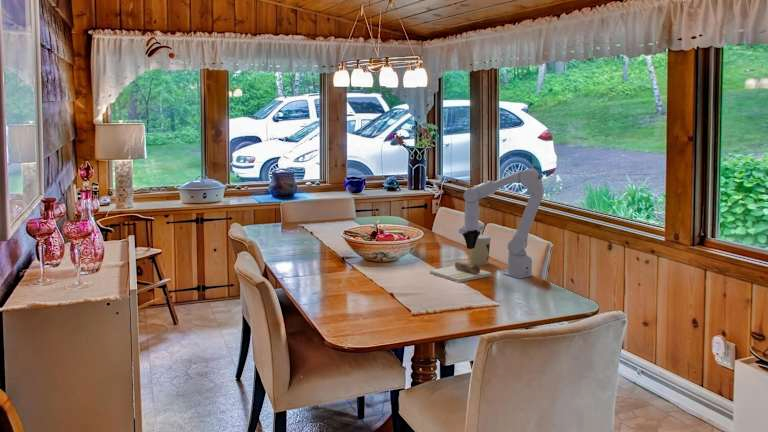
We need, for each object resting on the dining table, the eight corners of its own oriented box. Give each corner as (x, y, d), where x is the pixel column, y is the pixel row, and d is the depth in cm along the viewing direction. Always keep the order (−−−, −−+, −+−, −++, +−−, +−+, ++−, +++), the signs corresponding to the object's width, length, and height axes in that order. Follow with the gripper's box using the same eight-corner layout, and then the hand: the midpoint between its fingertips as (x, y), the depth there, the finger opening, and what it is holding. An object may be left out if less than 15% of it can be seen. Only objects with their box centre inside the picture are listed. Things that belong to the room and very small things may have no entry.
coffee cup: (491, 265, 297) (492, 238, 295) (469, 265, 297) (470, 238, 295) (488, 260, 306) (489, 234, 304) (467, 260, 306) (468, 234, 304)
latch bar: (479, 272, 278) (479, 266, 277) (475, 273, 276) (475, 267, 276) (459, 267, 287) (459, 260, 287) (455, 268, 286) (455, 261, 285)
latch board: (491, 275, 280) (491, 272, 280) (458, 282, 269) (458, 279, 269) (461, 267, 294) (461, 264, 294) (429, 273, 284) (429, 270, 284)
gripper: (474, 213, 293) (473, 244, 295) (453, 217, 283) (452, 249, 285) (487, 215, 288) (486, 246, 291) (466, 219, 278) (466, 252, 280)
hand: (470, 248), depth 288 cm, fingers closed
